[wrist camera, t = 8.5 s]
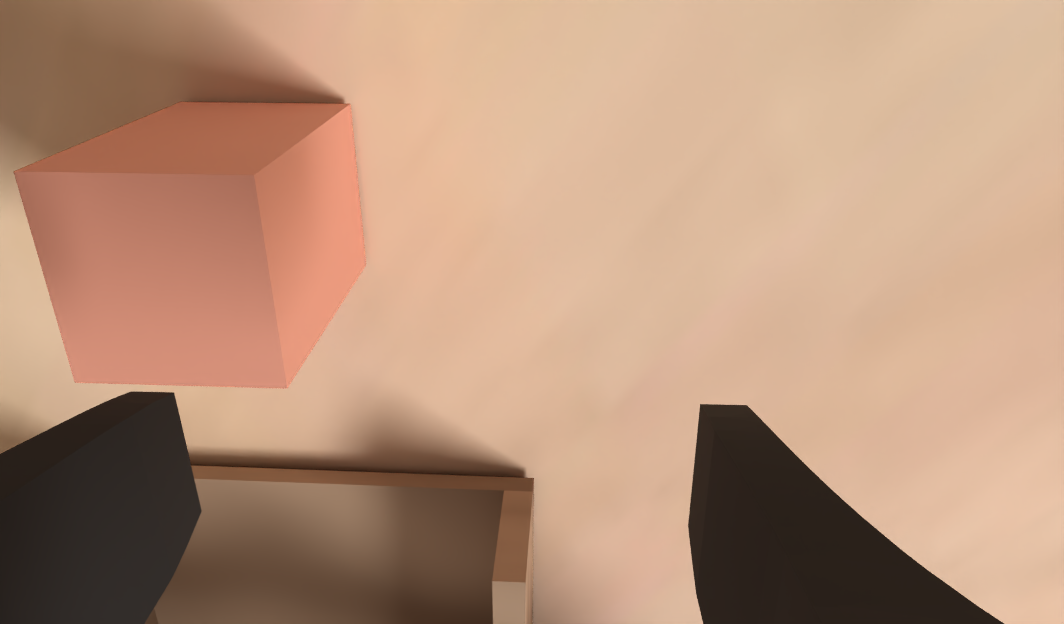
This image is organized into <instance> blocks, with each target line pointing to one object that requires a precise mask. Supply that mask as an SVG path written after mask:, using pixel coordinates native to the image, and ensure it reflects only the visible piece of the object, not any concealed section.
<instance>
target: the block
mask: <svg viewBox="0 0 1064 624" xmlns="http://www.w3.org/2000/svg"><path fill="white" fill-rule="evenodd" d="M14 174H15V178H16V181H17V185H18V188H19V192H20V195H21V199H22V202H23V205H24V209H25V212H26V216H27V219H28V223H29V226H30V230H31V233H32V236H33V240H34V243H35V247H36V250H37V254H38V257H39V261H40V264H41V267H42V271H43V274H44V278H45V281H46V285H47V288H48V292H49V295H50V298H51V302H52V305H53V309H54V312H55V316H56V319H57V323H58V326H59V329H60V333H61V336H62V340H63V343H64V347H65V350H66V354H67V357H68V360H69V364H70V367H71V371H72V374H73V378H74V381H75V383H108V384H144V385H180V386H216V387H252V388H288V386H289V385H290V383H291V382H292V380H293V379H294V377H295V375H296V374H297V372H298V371H299V369H300V368H301V366H302V364H303V363H304V361H305V360H306V358H307V357H308V355H309V354H310V352H311V350H312V349H313V347H314V346H315V344H316V343H317V341H318V339H319V338H320V336H321V335H322V333H323V332H324V330H325V328H326V327H327V325H328V324H329V322H330V321H331V319H332V318H333V316H334V314H335V313H336V311H337V310H338V308H339V307H340V305H341V303H342V302H343V300H344V299H345V297H346V296H347V294H348V292H349V291H350V289H351V288H352V286H353V285H354V283H355V282H356V280H357V278H358V277H359V275H360V274H361V272H362V271H363V269H364V267H365V266H366V259H365V249H364V239H363V228H362V218H361V208H360V197H359V187H358V177H357V166H356V156H355V146H354V136H353V125H352V115H351V105H350V104H321V103H232V102H179V103H177V104H174V105H172V106H169V107H167V108H165V109H162V110H160V111H157V112H155V113H153V114H150V115H148V116H145V117H143V118H141V119H138V120H136V121H133V122H131V123H129V124H126V125H124V126H121V127H119V128H117V129H114V130H112V131H110V132H107V133H105V134H102V135H100V136H98V137H95V138H93V139H90V140H88V141H86V142H83V143H81V144H78V145H76V146H74V147H71V148H69V149H66V150H64V151H62V152H59V153H57V154H54V155H52V156H50V157H47V158H45V159H42V160H40V161H38V162H35V163H33V164H30V165H28V166H26V167H23V168H21V169H18V170H16V171H14Z"/></svg>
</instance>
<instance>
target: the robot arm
mask: <svg viewBox="0 0 1064 624" xmlns="http://www.w3.org/2000/svg"><path fill="white" fill-rule="evenodd" d="M201 512H202V510H201V506H200V501H199V497H198V493H197V489H196V484H195V480H194V476H193V472H192V467H191V463H190V459H189V455H188V450H187V446H186V442H185V438H184V433H183V429H182V425H181V421H180V416H179V412H178V408H177V404H176V399H175V395H174V393H170V392H129V393H126V394H124V395H121V396H119V397H116V398H113V399H111V400H109V401H107V402H104V403H102V404H100V405H98V406H96V407H93V408H91V409H89V410H87V411H85V412H83V413H81V414H79V415H77V416H75V417H73V418H71V419H69V420H67V421H65V422H63V423H61V424H59V425H57V426H55V427H53V428H51V429H49V430H47V431H45V432H43V433H41V434H39V435H37V436H35V437H33V438H31V439H29V440H27V441H25V442H23V443H21V444H19V445H17V446H15V447H13V448H11V449H9V450H7V451H5V452H3V453H1V454H0V624H145V622H146V620H147V619H148V617H149V615H150V614H151V612H152V610H153V609H154V607H155V606H156V604H157V602H158V601H159V599H160V597H161V596H162V594H163V593H164V591H165V589H166V587H167V586H168V584H169V582H170V581H171V579H172V577H173V576H174V573H175V571H176V569H177V567H178V565H179V563H180V560H181V558H182V556H183V554H184V552H185V550H186V548H187V545H188V543H189V541H190V538H191V536H192V533H193V531H194V529H195V526H196V524H197V521H198V519H199V517H200V514H201ZM688 528H689V537H690V546H691V554H692V563H693V571H694V579H695V587H696V594H697V599H698V603H699V607H700V611H701V616H702V620H703V624H1004V623H1002V622H1001V621H999V620H998V619H996V618H995V617H993V616H992V615H990V614H989V613H987V612H986V611H984V610H983V609H981V608H980V607H978V606H977V605H975V604H974V603H973V602H971V601H970V600H968V599H967V598H966V597H964V596H963V595H961V594H960V593H959V592H957V591H956V590H954V589H953V588H952V587H950V586H949V585H947V584H946V583H945V582H943V581H942V580H940V579H939V578H938V577H936V576H935V575H933V574H932V573H931V572H929V571H928V570H927V569H925V568H924V567H923V566H921V565H920V564H919V563H917V562H916V561H915V560H914V559H912V558H911V557H910V556H908V555H907V554H906V553H905V552H903V551H902V550H901V549H900V548H898V547H897V546H896V545H895V544H894V543H892V542H891V541H890V540H889V539H888V538H886V537H885V536H884V535H883V534H882V533H880V532H879V531H878V530H877V529H876V528H874V527H873V526H872V525H871V524H870V523H868V522H867V521H866V520H865V519H864V518H862V517H861V516H860V515H859V514H858V513H857V512H856V511H855V510H853V509H852V508H851V507H850V506H849V505H848V504H847V503H846V502H844V501H843V500H842V499H841V498H840V497H839V496H838V495H837V494H836V493H835V492H834V491H832V490H831V489H830V488H829V487H828V486H827V485H826V484H825V483H824V482H823V481H822V480H821V479H820V478H819V477H818V476H817V475H816V474H814V473H813V472H812V471H811V470H810V469H809V468H808V467H807V466H806V465H805V464H804V463H803V462H802V461H801V460H800V459H799V458H798V457H797V456H796V455H795V454H794V453H793V452H792V451H791V450H790V449H789V448H788V447H787V446H786V445H785V444H784V443H783V442H782V441H781V440H780V439H779V438H778V437H777V436H776V435H775V433H774V432H773V431H772V430H771V429H770V428H769V427H768V426H767V425H766V424H765V423H764V422H763V421H762V420H761V419H760V418H759V417H758V416H757V415H756V414H755V413H754V412H753V411H752V410H751V409H750V408H749V407H748V406H747V405H709V404H700V413H699V423H698V433H697V443H696V453H695V463H694V473H693V483H692V493H691V503H690V514H689V524H688Z"/></svg>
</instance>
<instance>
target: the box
mask: <svg viewBox="0 0 1064 624" xmlns="http://www.w3.org/2000/svg"><path fill="white" fill-rule="evenodd" d="M191 467H192V472H193V476H194V480H195V484H196V489H197V493H198V497H199V501H200V506H201V510H202V512H201V514H200V517H199V519H198V521H197V524H196V526H195V529H194V531H193V533H192V536H191V538H190V541H189V543H188V545H187V548H186V550H185V552H184V554H183V556H182V558H181V560H180V563H179V565H178V567H177V569H176V571H175V573H174V576H173V577H172V579H171V581H170V582H169V584H168V586H167V587H166V589H165V591H164V593H163V594H162V596H161V597H160V599H159V601H158V602H157V604H156V606H155V607H154V609H153V610H152V612H151V614H150V615H149V617H148V619H147V620H146V622H145V624H532V613H533V506H534V478H517V477H490V476H463V475H436V474H409V473H382V472H355V471H328V470H301V469H274V468H247V467H220V466H193V465H191Z"/></svg>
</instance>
